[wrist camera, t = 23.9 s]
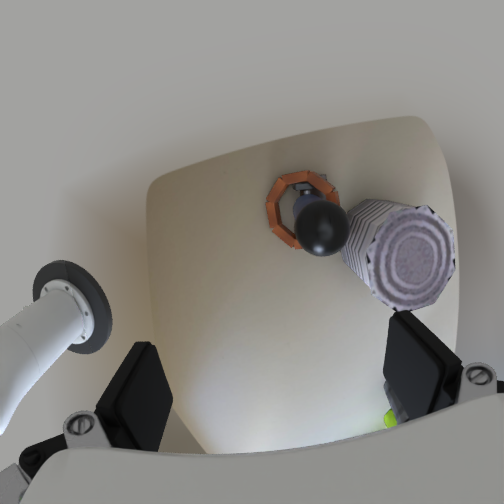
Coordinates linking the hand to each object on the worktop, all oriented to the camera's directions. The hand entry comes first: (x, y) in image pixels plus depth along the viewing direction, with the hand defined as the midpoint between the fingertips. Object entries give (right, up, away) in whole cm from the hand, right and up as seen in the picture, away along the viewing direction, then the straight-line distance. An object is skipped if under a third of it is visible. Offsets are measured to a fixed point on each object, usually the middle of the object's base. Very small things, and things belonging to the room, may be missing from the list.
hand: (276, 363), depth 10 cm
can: (+16, +6, +27) cm, 32 cm away
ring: (+5, +9, +24) cm, 26 cm away
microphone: (+3, +7, +17) cm, 19 cm away
